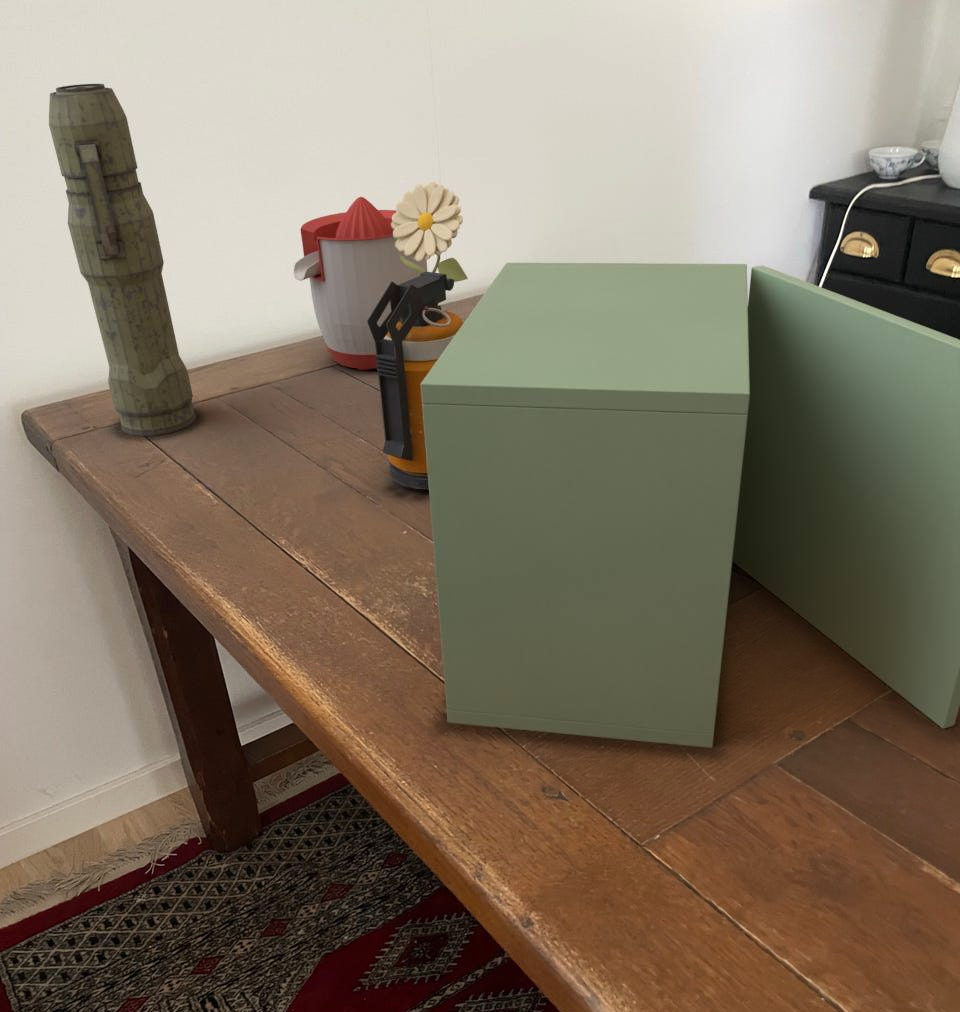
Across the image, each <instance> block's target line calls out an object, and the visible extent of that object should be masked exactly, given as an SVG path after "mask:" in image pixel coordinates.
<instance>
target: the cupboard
mask: <svg viewBox="0 0 960 1012" xmlns="http://www.w3.org/2000/svg"><path fill="white" fill-rule="evenodd" d="M748 300H749V296H748V265H747V263H643V262H642V263H640V262H639V263H637V262H635V263H633V262H632V263H629V262H628V263H626V262H623V263H621V262H618V263H617V262H613V263H612V262H592V263H591V262H506V263H505V264H504V266H503V267H502V268H501V270H500V271H499V273H498V274H497V275H496V277H495V279H493V281H492V282H491V284H490V285H489V287H488V288H487V290H486V291H485V292H484V294H483V295H482V296H481V298H480V299H479V301H478V302H477V304H476V305H475V307H473V309H472V310H471V312H470V314H469V315H468V316H467V317H466V319H465V321H464V322H462V323H463V325H462V326H461V328H460V329H459V330H458V332H457V333H456V335H455V336H454V338H453V339H452V340H451V342H450V343H449V345H448V346H447V347H446V349H445V350H444V352H443V353H442V354H441V356H440V357H439V359H438V360H437V361H436V363H435V364H434V366H433V367H432V369H431V370H430V371H429V373H428V374H427V376H426V377H425V378H424V380H423V381H422V383H421V396H422V403H423V404H422V409H423V422H424V434H425V447H426V459H427V471H428V484H429V490H428V494H429V509H430V517H431V518H430V520H431V531H432V544H433V554H434V555H433V556H434V569H435V582H436V594H437V607H438V617H439V631H440V642H441V643H440V645H441V654H442V667H443V669H442V670H443V680H444V693H445V705H446V715H447V716H446V718H447V719H446V720H447V723H449V724H458V725H469V726H480V727H491V728H502V729H510V730H521V731H531V732H532V731H533V732H543V733H552V734H562V735H563V734H564V735H575V736H585V737H596V738H606V739H617V740H626V741H637V742H648V743H657V744H658V743H659V744H669V745H680V746H688V747H689V746H690V747H700V748H709V749H711V748H713V747H714V739H715V738H714V737H715V728H716V718H717V708H718V699H719V689H720V680H721V672H722V671H721V670H722V661H723V653H724V652H723V651H724V641H725V633H726V624H727V616H728V615H727V613H728V606H729V605H728V604H729V596H730V586H731V576H732V568H733V562H732V559H733V549H734V540H735V530H736V521H737V511H738V502H739V492H740V483H741V473H742V464H743V455H744V445H745V436H746V426H747V417H748V407H749V398H750V379H749V338H748Z"/></svg>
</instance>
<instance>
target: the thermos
mask: <svg viewBox="0 0 960 1012" xmlns="http://www.w3.org/2000/svg"><path fill="white" fill-rule="evenodd" d="M48 103H49V104H48V105H49V106H48V107H49V108H48V127H49V130H50V134H51V138H52V142H53V146H54V150H55V155H56V158H57V163H58V166H59V170H60V173H61V176H62V177H63V178H64V181H65V185H66V189H65V194H66V198H67V201H68V209H67V226H68V230H69V233H70V238H71V241H72V245H73V249H74V253H75V257H76V260H77V264H78V269H79V272H80V274H81V275H82V277H83V278H84V280H85V281H86V283H87V286H88V288H89V289H88V290H89V293H90V298H91V300H92V305H93V308H94V309H93V310H94V313H95V316H96V320H97V325H98V329H99V332H100V337H101V341H102V344H103V348H104V351H105V355H106V359H107V363H108V367H109V368H108V377H107V381H108V383H107V384H108V388H109V391H110V395H111V399H112V402H113V407H114V409H115V411H116V412H117V414H118V418H119V422H120V423H119V424H120V427H121V430H122V432H124V433H125V434H128V435H132V436H139V437H151V436H152V437H154V436H162V435H167V434H170V433H174V432H177V431H180V430H182V429H185V428H186V427H187V428H188V427H189V426H190V425H192V424H193V423H194V422H195V420H196V419H197V415H196V411H195V408H194V405H193V396H194V395H193V391H192V386H191V382H190V377H189V371H188V367H186V365H185V363H184V361H183V359H182V358H181V356H180V353H179V348H178V347H179V346H178V344H177V339H176V334H175V329H174V325H173V320H172V315H171V310H170V306H169V301H168V296H167V292H166V287H165V283H164V279H163V274H162V273H163V269H164V268H163V267H164V262H165V261H164V257H163V251H162V248H161V244H160V238H159V234H158V229H157V224H156V219H155V216H154V215H155V214H154V211H153V209H152V208H151V206H150V204H149V202H148V200H147V198H146V196H145V195H144V191H143V186H142V183H141V182H140V181H139V178H138V173H137V169H138V164H137V159H136V154H135V150H134V145H133V140H132V136H131V131H130V127H129V121H128V117H127V116H126V112H125V111H124V109H123V107H122V105H121V103H120V101H119V99H118V97H117V95H116V93H115V91H114V90H113V88H112V87H106V86H105V84H103V83H81V84H71V85H63V86H58V87H56V88H55V91H53V92H51V93H49V102H48Z"/></svg>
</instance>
